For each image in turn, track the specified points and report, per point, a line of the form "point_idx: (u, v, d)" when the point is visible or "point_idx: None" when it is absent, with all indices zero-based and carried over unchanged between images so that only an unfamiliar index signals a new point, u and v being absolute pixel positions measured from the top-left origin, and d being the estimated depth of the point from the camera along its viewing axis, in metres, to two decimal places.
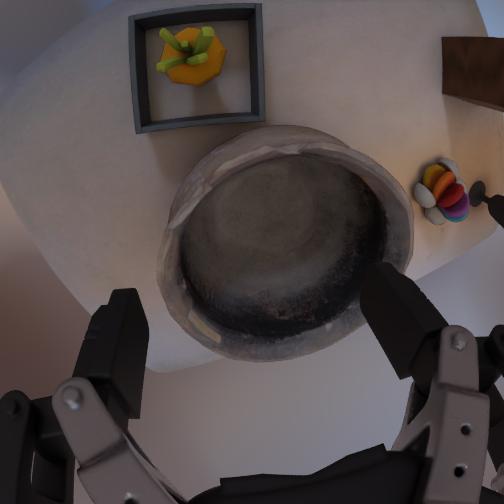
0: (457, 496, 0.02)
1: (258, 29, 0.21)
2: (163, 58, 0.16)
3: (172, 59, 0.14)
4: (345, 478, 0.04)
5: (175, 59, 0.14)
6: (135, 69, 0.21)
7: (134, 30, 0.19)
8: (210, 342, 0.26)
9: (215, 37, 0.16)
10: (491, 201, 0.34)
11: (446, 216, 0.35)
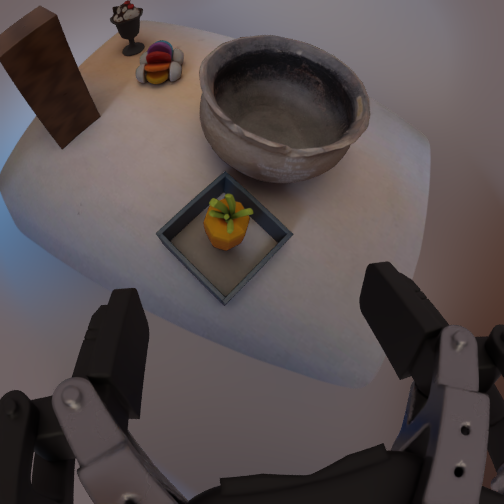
0: (457, 496, 0.02)
1: (174, 219, 0.36)
2: (241, 231, 0.30)
3: (241, 212, 0.28)
4: (345, 478, 0.04)
5: (240, 210, 0.28)
6: (256, 266, 0.36)
7: (232, 290, 0.35)
8: (364, 99, 0.32)
9: (207, 215, 0.30)
10: (131, 37, 0.42)
11: (172, 50, 0.43)
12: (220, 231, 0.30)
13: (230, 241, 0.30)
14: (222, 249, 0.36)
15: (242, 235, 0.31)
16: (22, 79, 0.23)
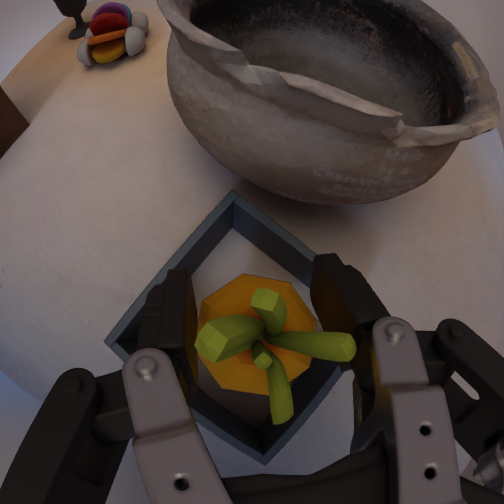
0: (457, 496, 0.02)
1: (136, 309, 0.16)
2: (301, 369, 0.10)
3: (314, 348, 0.07)
4: (345, 478, 0.04)
5: (309, 342, 0.08)
6: (320, 390, 0.15)
7: (276, 442, 0.14)
8: (467, 47, 0.12)
9: None
10: (75, 11, 0.23)
11: (129, 13, 0.24)
12: (244, 380, 0.10)
13: None
14: None
15: None
16: None
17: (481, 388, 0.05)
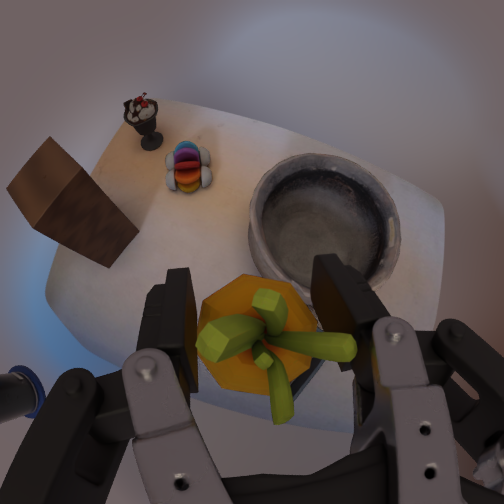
0: (457, 496, 0.02)
1: None
2: (301, 369, 0.10)
3: (314, 348, 0.07)
4: (345, 478, 0.04)
5: (309, 342, 0.08)
6: (312, 373, 0.42)
7: (295, 393, 0.41)
8: (395, 222, 0.39)
9: None
10: (149, 133, 0.50)
11: (198, 151, 0.51)
12: (244, 380, 0.10)
13: None
14: None
15: None
16: (62, 234, 0.31)
17: (482, 388, 0.05)
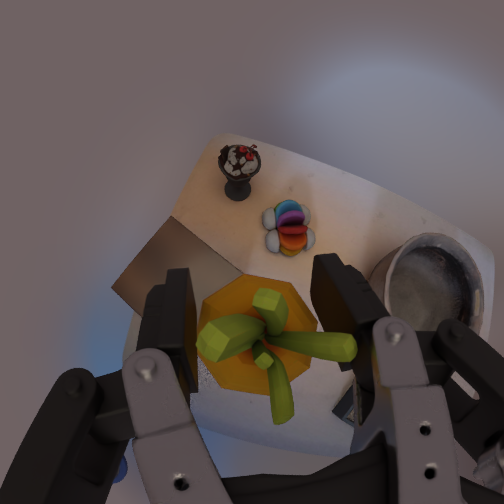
0: (457, 496, 0.02)
1: (353, 406, 0.41)
2: (301, 369, 0.10)
3: (315, 348, 0.07)
4: (345, 478, 0.04)
5: (309, 343, 0.08)
6: None
7: None
8: (481, 294, 0.38)
9: None
10: (244, 185, 0.49)
11: (301, 212, 0.49)
12: (244, 380, 0.10)
13: None
14: None
15: None
16: None
17: (481, 388, 0.05)
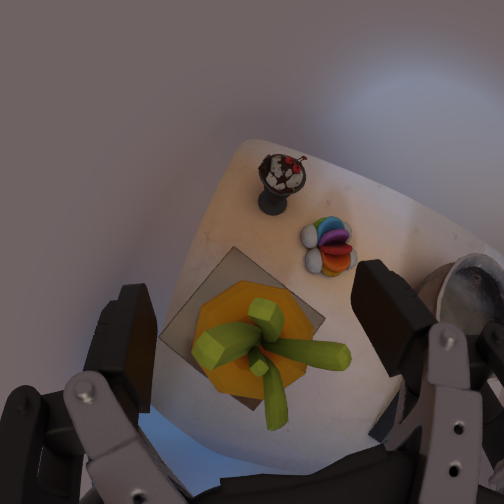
0: (457, 496, 0.02)
1: None
2: (297, 375, 0.10)
3: (309, 357, 0.08)
4: (345, 478, 0.04)
5: (304, 351, 0.08)
6: None
7: None
8: None
9: (197, 339, 0.10)
10: (283, 199, 0.44)
11: None
12: (240, 385, 0.10)
13: None
14: None
15: None
16: None
17: None
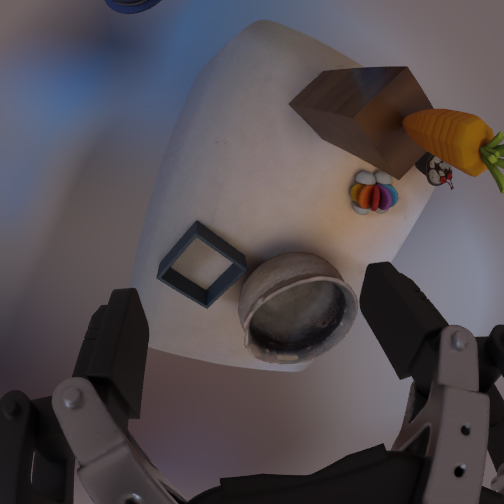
0: (457, 496, 0.02)
1: (207, 243, 0.51)
2: (467, 164, 0.16)
3: (502, 176, 0.14)
4: (345, 478, 0.04)
5: None
6: (182, 291, 0.55)
7: (165, 280, 0.53)
8: (293, 361, 0.56)
9: (485, 123, 0.15)
10: (415, 163, 0.48)
11: None
12: (473, 138, 0.15)
13: (456, 147, 0.16)
14: (415, 124, 0.21)
15: (459, 164, 0.17)
16: (336, 119, 0.30)
17: None
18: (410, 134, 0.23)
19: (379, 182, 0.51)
